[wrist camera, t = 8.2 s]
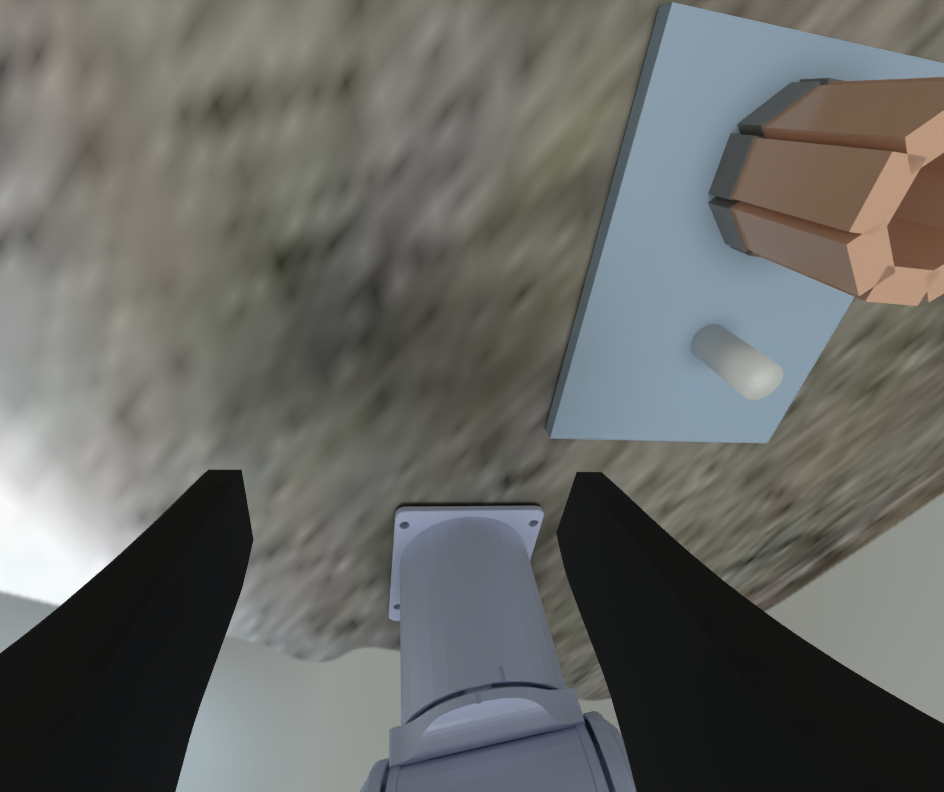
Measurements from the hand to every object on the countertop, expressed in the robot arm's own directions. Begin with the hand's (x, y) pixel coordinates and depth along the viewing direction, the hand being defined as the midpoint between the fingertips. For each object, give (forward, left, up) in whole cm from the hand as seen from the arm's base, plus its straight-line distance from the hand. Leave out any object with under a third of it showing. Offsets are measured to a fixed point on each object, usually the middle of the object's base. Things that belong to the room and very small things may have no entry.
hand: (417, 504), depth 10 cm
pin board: (+3, -13, -10) cm, 17 cm away
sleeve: (+7, -13, -9) cm, 18 cm away
